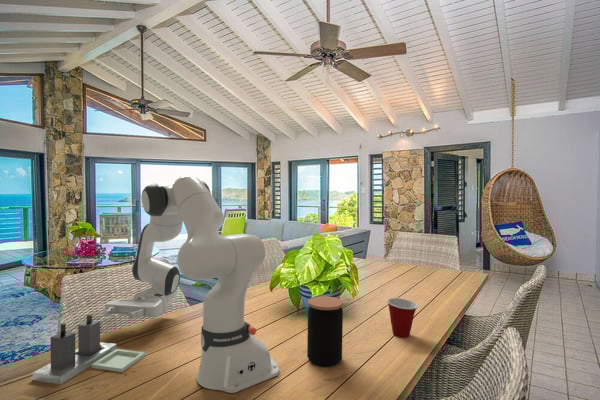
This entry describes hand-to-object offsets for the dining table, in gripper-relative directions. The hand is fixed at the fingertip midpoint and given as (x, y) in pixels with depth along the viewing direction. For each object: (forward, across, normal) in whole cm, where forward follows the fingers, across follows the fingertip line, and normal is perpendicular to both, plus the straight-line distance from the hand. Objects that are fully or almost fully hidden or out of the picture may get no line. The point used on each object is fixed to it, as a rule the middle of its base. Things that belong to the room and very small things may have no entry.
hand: (118, 315), depth 117 cm
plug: (+12, 0, +9) cm, 15 cm away
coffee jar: (-5, +69, +11) cm, 70 cm away
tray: (+12, +10, +10) cm, 18 cm away
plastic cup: (-30, +93, +11) cm, 98 cm away
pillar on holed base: (+16, 0, +9) cm, 18 cm away
